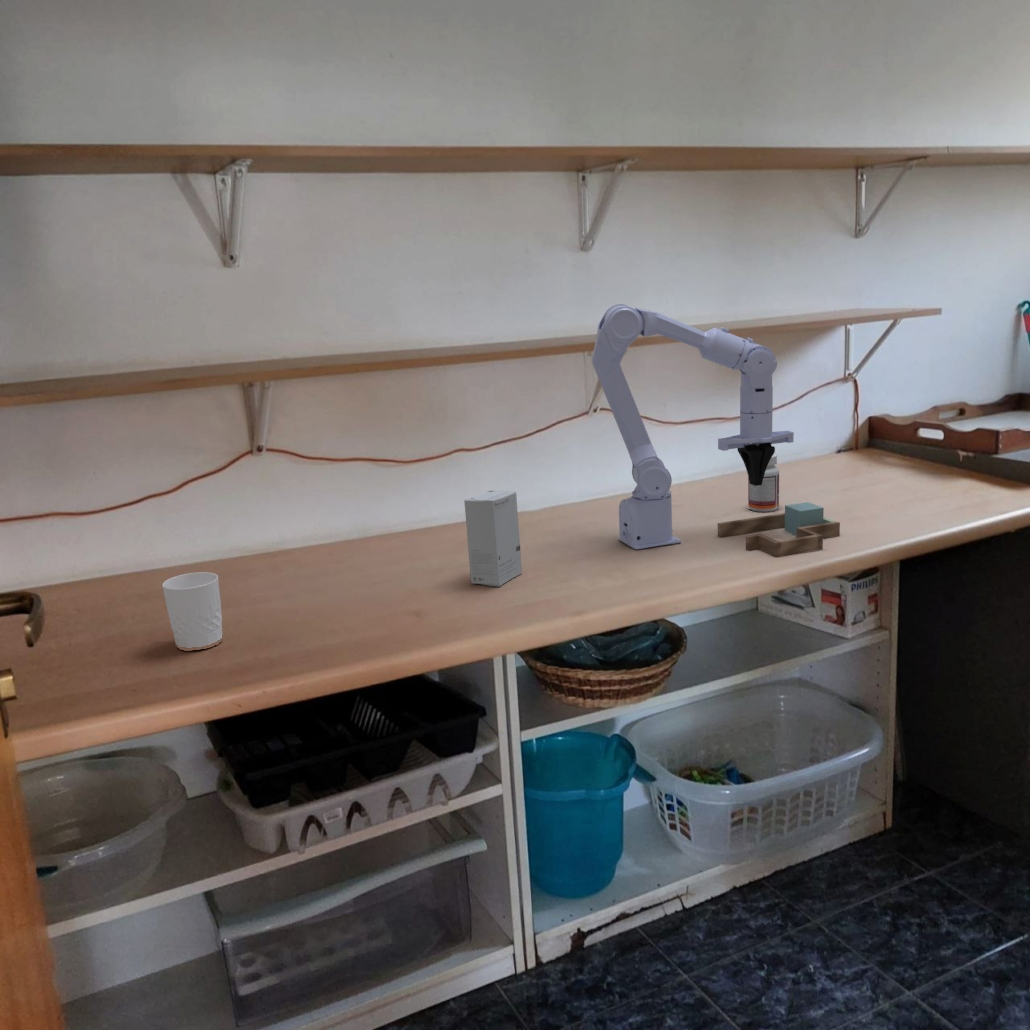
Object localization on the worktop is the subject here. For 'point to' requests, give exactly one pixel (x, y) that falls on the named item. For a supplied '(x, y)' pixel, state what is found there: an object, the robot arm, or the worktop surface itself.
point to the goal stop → (827, 520)
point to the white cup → (194, 608)
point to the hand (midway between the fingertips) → (755, 484)
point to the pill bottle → (765, 490)
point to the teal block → (802, 516)
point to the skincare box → (493, 537)
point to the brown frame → (805, 541)
